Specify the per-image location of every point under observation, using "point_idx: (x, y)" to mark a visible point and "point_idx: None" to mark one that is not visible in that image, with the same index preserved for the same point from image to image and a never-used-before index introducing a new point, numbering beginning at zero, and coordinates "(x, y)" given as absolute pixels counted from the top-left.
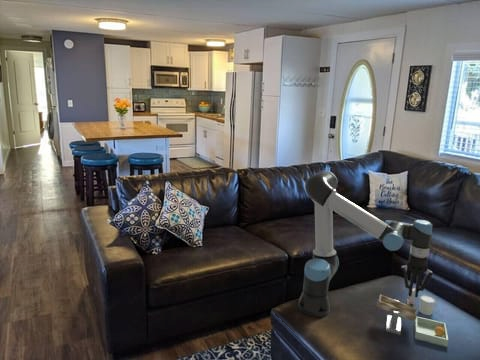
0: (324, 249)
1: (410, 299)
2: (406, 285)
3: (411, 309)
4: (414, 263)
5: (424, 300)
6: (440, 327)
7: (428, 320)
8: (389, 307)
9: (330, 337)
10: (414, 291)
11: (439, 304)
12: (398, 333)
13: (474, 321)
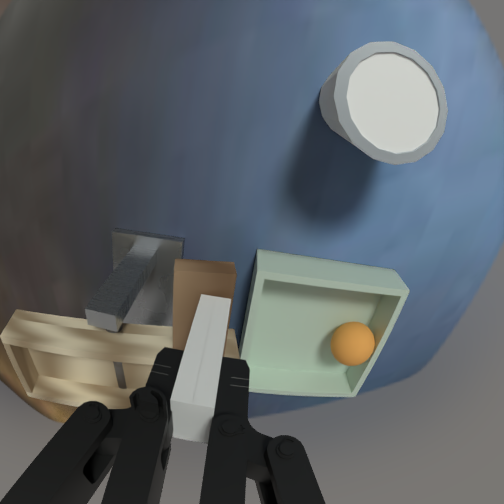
0: None
1: (198, 307)
2: (97, 457)
3: None
4: None
5: (363, 131)
6: (357, 359)
7: (328, 285)
8: (83, 396)
9: (19, 379)
10: (197, 438)
11: (446, 17)
12: None
13: None
